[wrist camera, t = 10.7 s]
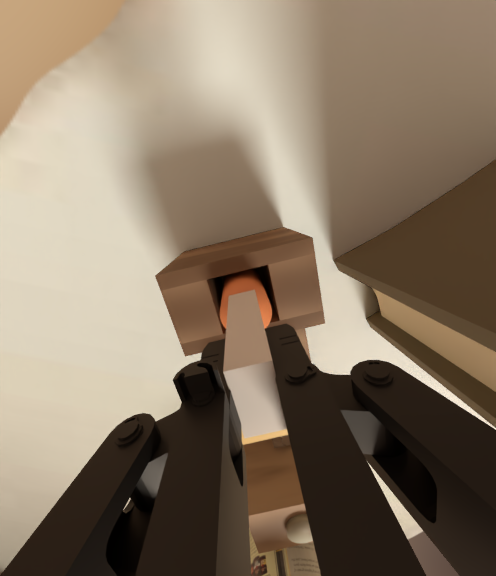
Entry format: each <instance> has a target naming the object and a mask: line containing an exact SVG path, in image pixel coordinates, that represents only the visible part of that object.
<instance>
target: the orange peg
mask: <svg viewBox="0 0 496 576" xmlns="http://www.w3.org/2000/svg"><path fill="white" fill-rule="evenodd" d="M251 290H255V292H256V296H257V300H258V304H259V308H260V312H261V316H262V320H263V324H264V328H266V327H267V326H268V325H269V323H270V321H271V317H272V308H271V305H270V302H269V299H268V297H267V294H266V291H265V289H264V286H263V284H262V281H261V278H260V276H259V274H258V272H257V271H256V270H255V269H253V268H252V269H248V270H244V271H240V272H236V273H232V274H228V275H226V276H225V280H224V286H223V293H222V300H221V307H220V319H221V322H222V324H223V326H224V327H225V329H226V325H227V311H228V297H229V296H230V295H234V294H238V293H242V292H246V291H251Z"/></svg>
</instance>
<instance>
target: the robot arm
mask: <svg viewBox="0 0 496 576" xmlns="http://www.w3.org/2000/svg"><path fill="white" fill-rule="evenodd" d="M350 373H351V375H334V374H328V373H324V372H322V371H320V370H319V369H318V368H317V367H316V366H315V365H314V364H312V363H311V361H310V359H309V357H308V355H307V353H306V351H305V349H304V347H303V345H302V343H301V341H300V339H299V337H298V336H297V333H296V331H295V329H294V328H293V327H292V326H290V325H288V324H287V323H286V324H282V325H278V326H273V327H269V328H264V324H263V320H262V316H261V312H260V308H259V304H258V300H257V296H256V292H255V290H251V291H246V292H242V293H238V294H234V295H230V296H229V297H228V311H227V325H226V339H222V340H217V341H213V342H209V343H208V344H207V345H206V347H205V348H204V349H203V351H202V356H201V360H200V361H197V362H194V363H191V364H189V365H187V366H185V367H184V368H182V369H181V370H180V371H179V372H178V373H177V374H176V375H175V377H174V379H173V382H174V384H175V387H176V389H177V392H178V394H179V396H180V399H181V401H182V404H181V407H180V409H179V410H178V411H176V412H174V413H172V414H171V415H168V416H166V417H164V418H162V419H160V420H158V421H156V422H155V420H154V418H153V417H152V416H151V415H150V414H145V413H142V414H137V415H134V416H132V417H130V418H128V419H126V420H124V421H123V422H122V423H120V424H119V425H118V426H117V427H116V428H115V429H114V430H113V431H112V432H111V433H110V434H109V435H108V437H107V438H106V439H105V441H104V442H103V443H102V444H101V446H100V447H99V448H98V450H97V451H96V452H95V454H94V455H93V456H92V457H91V459H90V460H89V461H88V463H87V464H86V465H85V466H84V468H83V469H82V470H81V472H80V473H79V474H78V476H77V477H76V478H75V479H74V481H73V482H72V483H71V485H70V486H69V487H68V489H67V490H66V491H65V492H64V494H63V495H62V496H61V498H60V499H59V500H58V501H57V503H56V504H55V505H54V507H53V508H52V509H51V511H50V512H49V513H48V514H47V516H46V517H45V518H44V520H43V521H42V522H41V524H40V525H39V526H38V527H37V529H36V530H35V531H34V533H33V534H32V535H31V536H30V538H29V539H28V540H27V542H26V543H25V544H24V546H23V547H22V548H21V549H20V551H19V552H18V553H17V555H16V556H15V557H14V559H13V560H12V561H11V562H10V564H9V565H8V566H7V568H6V569H5V570H4V572H3V573H2V574H1V575H0V576H251V557H250V536H249V514H248V493H247V472H246V454H245V450H244V447H243V444H242V432H243V435H244V438H249V437H254V436H258V435H263V434H267V433H272V432H276V431H280V430H285V429H287V431H288V436H289V440H290V444H291V449H292V453H293V457H294V462H295V466H296V470H297V474H298V479H299V483H300V487H301V492H302V496H303V500H304V504H305V509H306V513H307V517H308V522H309V526H310V530H311V535H312V539H313V543H314V547H315V552H316V556H317V560H318V565H319V569H320V573H321V576H426V574H425V573H424V570H423V568H422V567H421V565H420V563H419V561H418V559H417V557H416V555H415V553H414V551H413V549H412V547H411V546H410V543H409V541H408V540H407V538H406V536H405V534H404V532H403V530H402V528H401V526H400V524H399V522H398V520H397V518H396V516H395V514H394V513H393V511H392V509H391V507H390V505H389V503H388V501H387V499H386V497H385V495H384V493H383V491H382V489H381V488H380V486H379V484H378V482H377V480H376V478H375V476H374V474H373V472H372V470H371V468H370V466H369V464H370V465H371V466H372V468H373V469H374V470H375V471H376V473H377V474H378V475H379V476H380V478H381V479H382V480H383V481H384V482H385V484H386V485H387V486H388V487H389V489H390V490H391V491H392V492H393V494H394V495H395V496H396V497H397V499H398V500H399V501H400V502H401V504H402V505H403V506H404V507H405V509H406V510H407V511H408V512H409V513H410V515H411V516H412V517H413V518H414V520H415V521H416V522H417V523H418V525H419V526H420V527H421V528H422V530H423V531H424V532H425V533H426V534H427V536H428V537H429V538H430V539H431V541H432V542H433V543H434V544H435V546H436V547H437V548H438V549H439V551H440V552H441V553H442V554H443V556H444V557H445V558H446V559H447V561H448V562H449V563H450V564H451V566H452V567H453V568H454V569H455V570H456V572H457V573H458V574H459V575H460V576H496V430H495V429H494V428H492V427H490V426H489V425H487V424H486V423H484V422H483V421H481V420H480V419H478V418H477V417H475V416H473V415H472V414H470V413H469V412H467V411H466V410H464V409H463V408H461V407H459V406H458V405H456V404H455V403H453V402H452V401H450V400H449V399H447V398H446V397H444V396H442V395H441V394H439V393H438V392H436V391H435V390H433V389H432V388H430V387H428V386H427V385H425V384H424V383H422V382H421V381H419V380H418V379H416V378H415V377H413V376H411V375H410V374H408V373H407V372H405V371H404V370H402V369H401V368H399V367H397V366H395V365H393V364H391V363H389V362H385V361H380V360H367V361H363V362H359V363H358V364H356V365H355V366H353V368H352V370H351V372H350ZM241 429H242V430H241ZM366 460H367V461H368V462H367V461H366ZM368 463H369V464H368ZM129 498H131V500H130V502H129V504H128V505H127V506H126V508H125V509H124V507H125V505H126V503H127V502H128V500H129ZM123 509H124V510H123Z"/></svg>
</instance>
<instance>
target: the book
mask: <svg viewBox="0 0 496 576" xmlns="http://www.w3.org/2000/svg"><path fill="white" fill-rule="evenodd" d="M333 261H334V263H335V264H336V266H337V268H338V270H339V271H341V272H343V273H345V274H347V275H349V276H351V277H352V278H354V279H356V280H358V281H360V282H362V283H364V284H366V285H368V286H370V287H372V288H373V290H374V292H375V294H376V296H377V298H378V303H379V307H380V311H379V312H377V313H375V314H373V315H372V316H370V317H368V318H367V319H366V320H367V322H368V323H369V325H370V327H371V328H372V329H373V330H375V331H376V332H377V333H378V334H380V335H381V336H382V337H383V338H385V339H386V340H387V341H388V342H390V343H391V344H392V345H393V346H395V347H396V348H397V349H398V350H400V351H401V352H402V353H403V354H405V355H406V356H407V357H408V358H410V359H411V360H412V361H413V362H415V363H416V364H417V365H418V366H419V367H421V368H422V369H423V370H424V371H426V372H427V373H428V374H429V375H431V376H432V377H433V378H434V379H436V380H437V381H438V382H439V383H441V384H442V385H443V386H444V387H446V388H447V389H448V390H449V391H451V392H452V393H453V394H454V395H456V396H457V397H458V398H459V399H461V400H462V401H463V402H464V403H466V404H467V405H468V406H469V407H471V408H472V409H473V410H474V411H476V412H477V413H478V414H479V415H480V416H482V417H483V418H484V419H485V420H487V421H488V422H489V423H490V424H492V425H493V426H494V427H495V428H496V160H494V161H493V162H492V163H490V164H489V165H487V166H486V167H484V168H483V169H482V170H480V171H479V172H477V173H476V174H475V175H473V176H472V177H470V178H469V179H467V180H466V181H465V182H463V183H462V184H460V185H459V186H457V187H456V188H454V189H452V190H451V191H449V192H448V193H446V194H445V195H443V196H442V197H440V198H439V199H437V200H436V201H434V202H432V203H431V204H429V205H428V206H426V207H425V208H423V209H422V210H420V211H419V212H417V213H415V214H414V215H412V216H411V217H409V218H408V219H406V220H405V221H403V222H402V223H400V224H398V225H397V226H395V227H394V228H392V229H390V230H388V231H386V232H385V233H383V234H381V235H379V236H377V237H375V238H374V239H372V240H370V241H368V242H366V243H364V244H362V245H361V246H359V247H357V248H355V249H353V250H351V251H350V252H348V253H346V254H344V255H342V256H340V257H338V258H337V259H335V260H333Z"/></svg>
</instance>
